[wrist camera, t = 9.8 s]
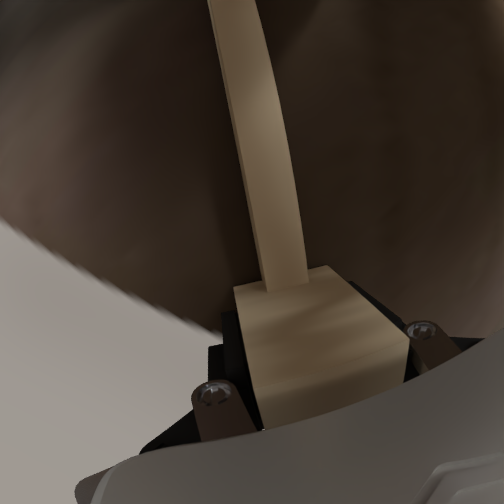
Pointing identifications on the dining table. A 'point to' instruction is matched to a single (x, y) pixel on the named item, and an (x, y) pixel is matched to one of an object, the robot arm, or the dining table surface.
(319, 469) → the robot arm
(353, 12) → the dining table surface
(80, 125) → the dining table surface
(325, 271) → the crook
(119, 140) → the dining table surface
